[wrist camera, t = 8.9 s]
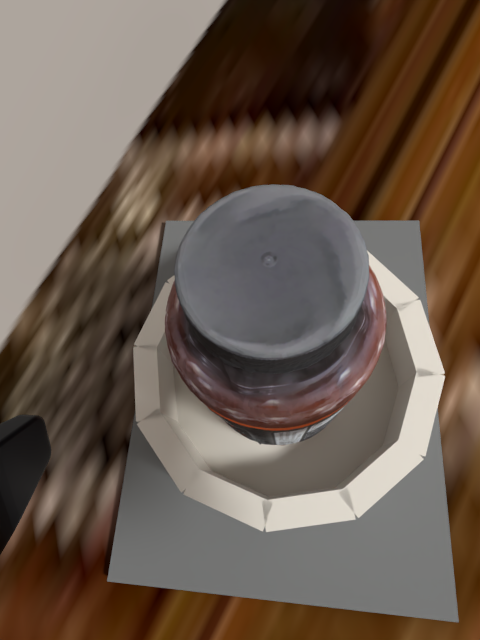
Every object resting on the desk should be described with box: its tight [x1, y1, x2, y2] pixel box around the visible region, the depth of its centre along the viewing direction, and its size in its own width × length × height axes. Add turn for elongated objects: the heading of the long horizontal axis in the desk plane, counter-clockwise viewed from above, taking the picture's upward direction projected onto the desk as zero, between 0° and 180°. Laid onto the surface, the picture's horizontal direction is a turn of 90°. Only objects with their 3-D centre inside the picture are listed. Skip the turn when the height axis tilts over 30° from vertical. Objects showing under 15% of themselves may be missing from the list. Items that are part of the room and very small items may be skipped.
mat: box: [107, 221, 459, 622], centre depth 20 cm, size 18×14×1 cm
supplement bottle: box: [165, 184, 387, 445], centre depth 13 cm, size 6×6×11 cm
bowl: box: [133, 251, 445, 532], centre depth 18 cm, size 12×12×4 cm
